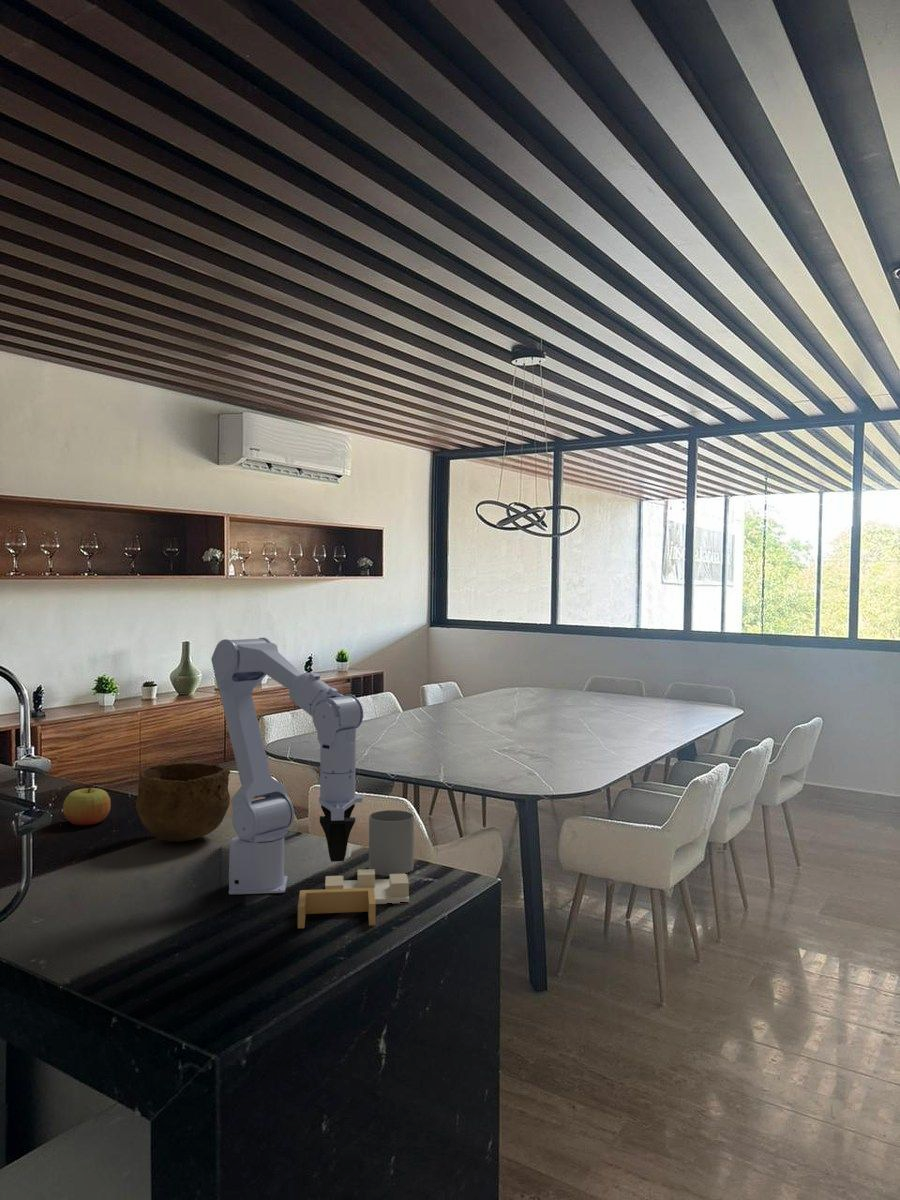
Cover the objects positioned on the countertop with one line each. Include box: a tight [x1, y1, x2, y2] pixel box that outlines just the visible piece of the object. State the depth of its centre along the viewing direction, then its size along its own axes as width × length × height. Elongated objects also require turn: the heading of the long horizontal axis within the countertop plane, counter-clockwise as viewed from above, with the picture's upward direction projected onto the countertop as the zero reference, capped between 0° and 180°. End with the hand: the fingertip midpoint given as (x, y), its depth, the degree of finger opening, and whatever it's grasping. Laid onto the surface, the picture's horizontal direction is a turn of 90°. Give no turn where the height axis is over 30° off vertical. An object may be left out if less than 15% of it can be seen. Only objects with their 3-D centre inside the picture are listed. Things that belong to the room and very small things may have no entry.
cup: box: [368, 809, 415, 877], centre depth 163 cm, size 8×8×10 cm
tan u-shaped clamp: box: [297, 888, 377, 929], centre depth 138 cm, size 7×12×3 cm, turn 97°
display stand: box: [324, 868, 410, 905], centre depth 149 cm, size 10×14×3 cm
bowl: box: [135, 761, 231, 843], centre depth 181 cm, size 19×19×15 cm
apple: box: [62, 787, 112, 826], centre depth 194 cm, size 10×10×8 cm
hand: (337, 853), depth 141 cm, fingers open, 7 cm apart
